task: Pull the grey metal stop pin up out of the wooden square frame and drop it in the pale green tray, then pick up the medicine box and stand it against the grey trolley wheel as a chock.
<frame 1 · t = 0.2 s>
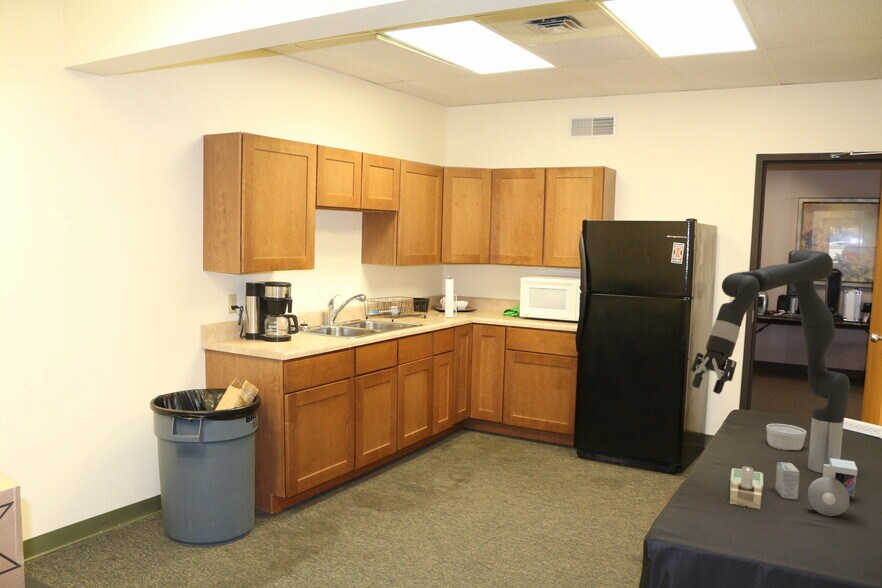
hand: (705, 390, 209), 31 cm above the table, tool tilted 20°, fingers open, 8 cm apart
wooden square frame: (745, 501, 205), on the table
supplement container: (841, 497, 212), on the table
medicine box: (785, 495, 213), on the table
trolley wheel: (826, 513, 198), on the table
stop pin: (746, 485, 205), in the wooden square frame
tray: (746, 486, 218), on the table
ramekin: (784, 447, 262), on the table
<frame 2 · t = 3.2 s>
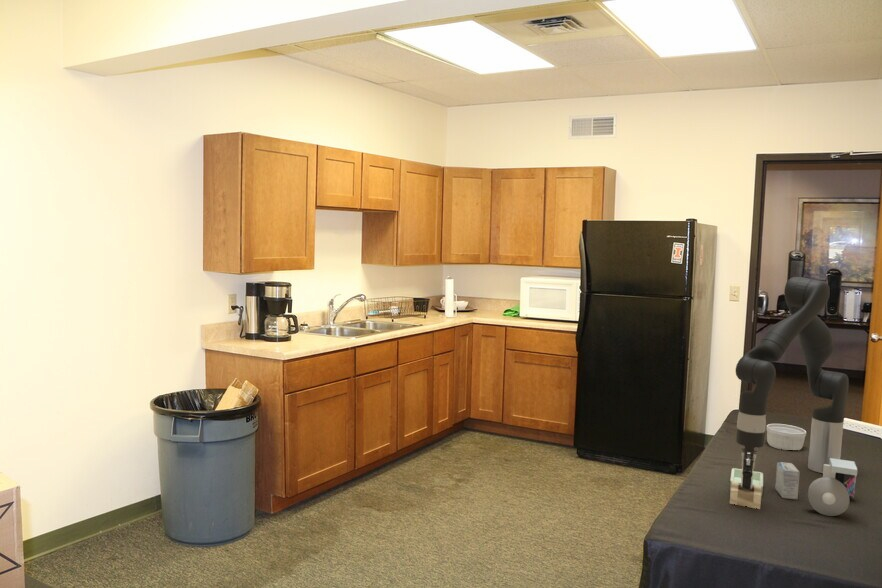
hand: (746, 486, 205), 5 cm above the table, tool pointing down, fingers closed on stop pin, 3 cm apart
stop pin: (746, 484, 205), in the wooden square frame, touching gripper
everything else where it was.
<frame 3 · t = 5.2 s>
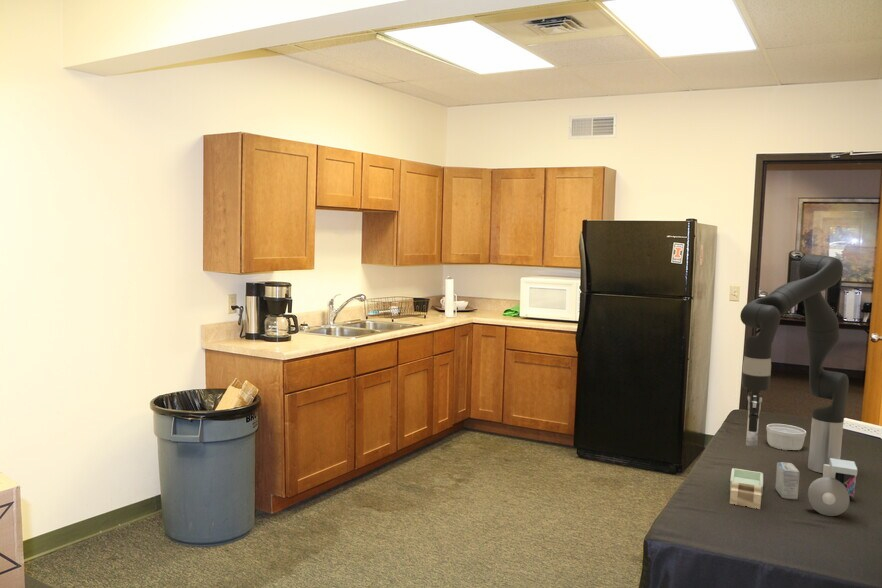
hand: (752, 429, 209), 20 cm above the table, tool pointing down, fingers closed on stop pin, 3 cm apart
stop pin: (752, 428, 209), point 20 cm above the table, touching gripper
everything else where it was.
when the fingers open (7 cm above the table, at t = 7.5 s): stop pin drops 2 cm, resting on tray.
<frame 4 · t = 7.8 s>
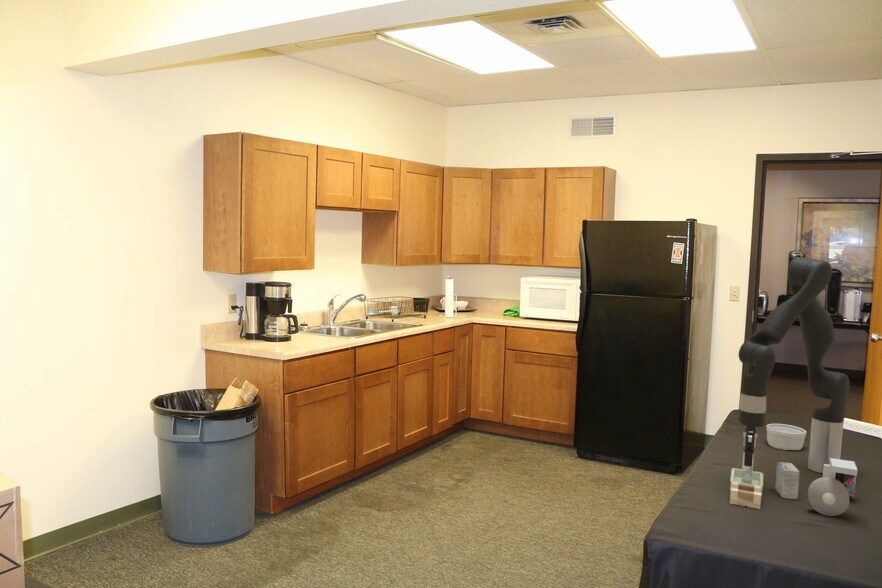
hand: (748, 462, 217), 7 cm above the table, tool pointing down, fingers open, 5 cm apart
stop pin: (747, 468, 217), in the tray, point 6 cm above the table
everything else where it was.
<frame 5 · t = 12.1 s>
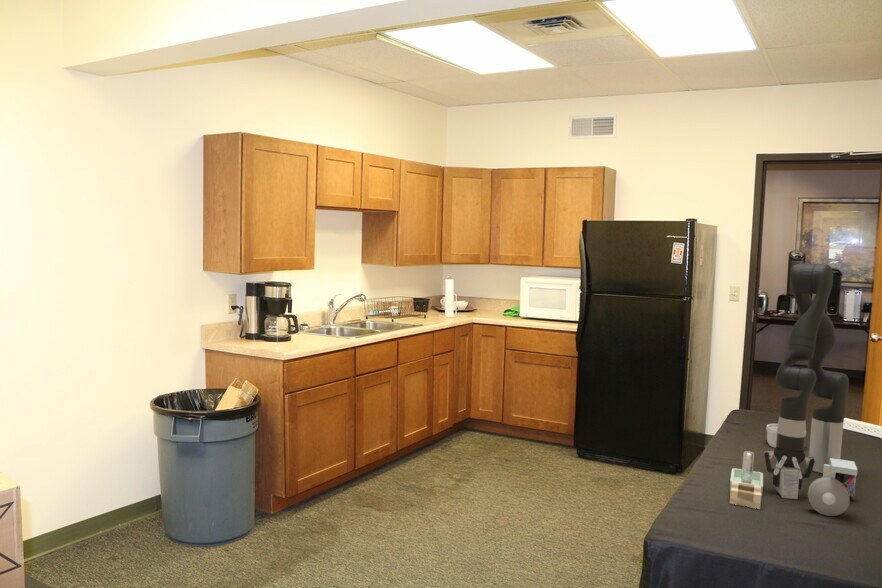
hand: (786, 487, 212), 2 cm above the table, tool pointing down, fingers closed on medicine box, 5 cm apart
medicine box: (785, 495, 213), on the table, touching gripper
everything else where it was.
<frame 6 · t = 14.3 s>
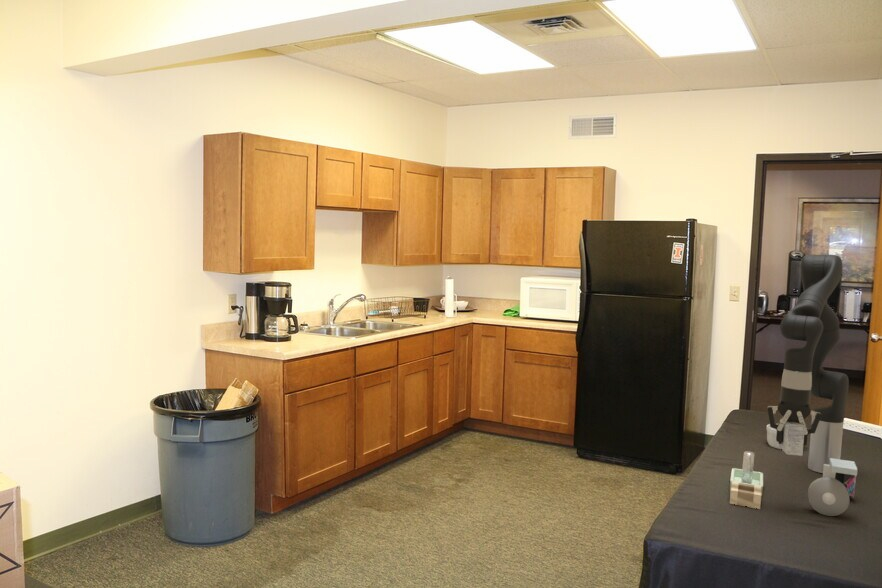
hand: (790, 444, 201), 18 cm above the table, tool pointing down, fingers closed on medicine box, 5 cm apart
medicine box: (790, 452, 201), point 16 cm above the table, touching gripper
everything else where it was.
when the fingers open (3 cm above the table, at t = 17.0 s): medicine box drops 1 cm, on the table.
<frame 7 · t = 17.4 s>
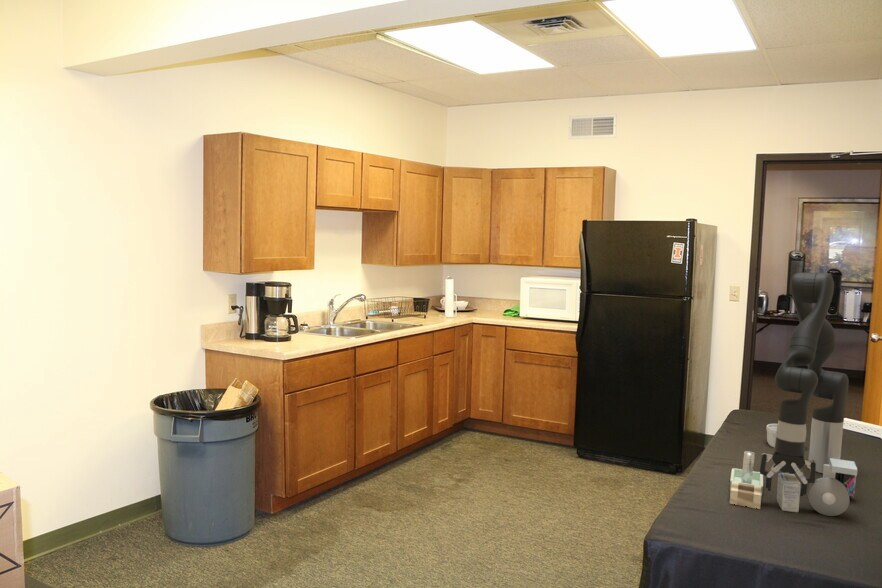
hand: (785, 492, 202), 4 cm above the table, tool pointing down, fingers open, 8 cm apart
medicine box: (786, 507, 203), on the table
everything else where it was.
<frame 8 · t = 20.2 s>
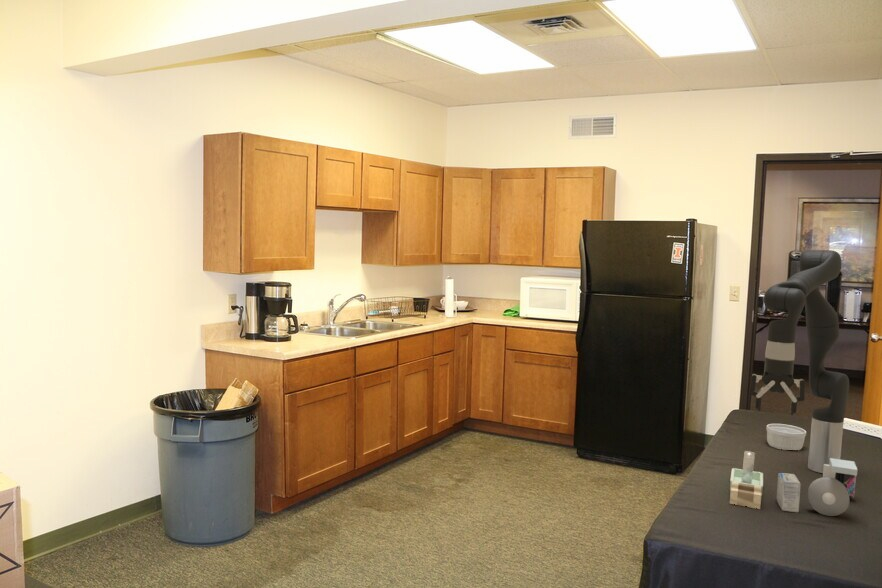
hand: (775, 412, 205), 26 cm above the table, tool pointing down, fingers open, 8 cm apart
nothing on the table moved.
at the end: medicine box inside the target area on the table beside the trolley wheel (0.1 cm from its centre), on the table; medicine box tilted 0°; stop pin inside the target area on the tray (0.1 cm from its centre), point 5.7 cm above the tray's base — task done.
